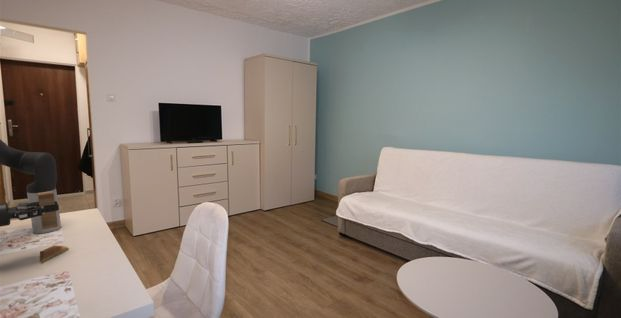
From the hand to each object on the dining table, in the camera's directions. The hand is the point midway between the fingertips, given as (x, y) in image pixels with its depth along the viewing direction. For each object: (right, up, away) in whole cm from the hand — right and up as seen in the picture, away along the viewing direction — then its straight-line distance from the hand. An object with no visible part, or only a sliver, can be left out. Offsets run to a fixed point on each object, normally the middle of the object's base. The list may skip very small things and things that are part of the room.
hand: (57, 205), depth 109 cm
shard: (-2, -18, +1) cm, 18 cm away
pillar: (-2, -7, -1) cm, 8 cm away
